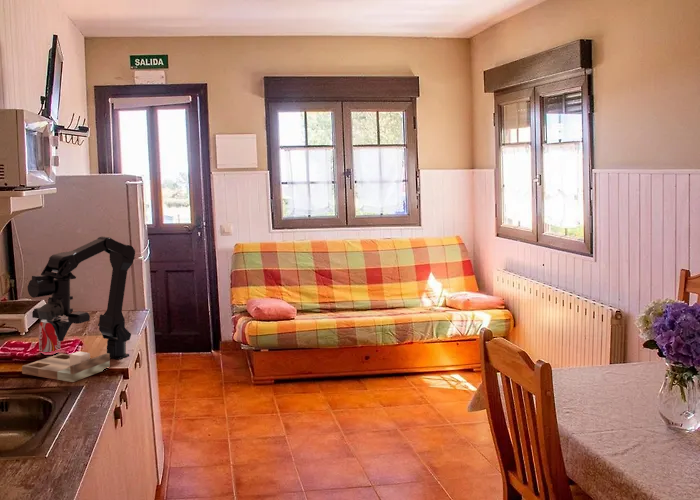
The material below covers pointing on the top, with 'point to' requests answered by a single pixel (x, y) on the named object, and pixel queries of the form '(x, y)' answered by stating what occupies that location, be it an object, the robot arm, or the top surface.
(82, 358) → the block
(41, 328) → the soda can
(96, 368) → the board
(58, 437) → the top surface
